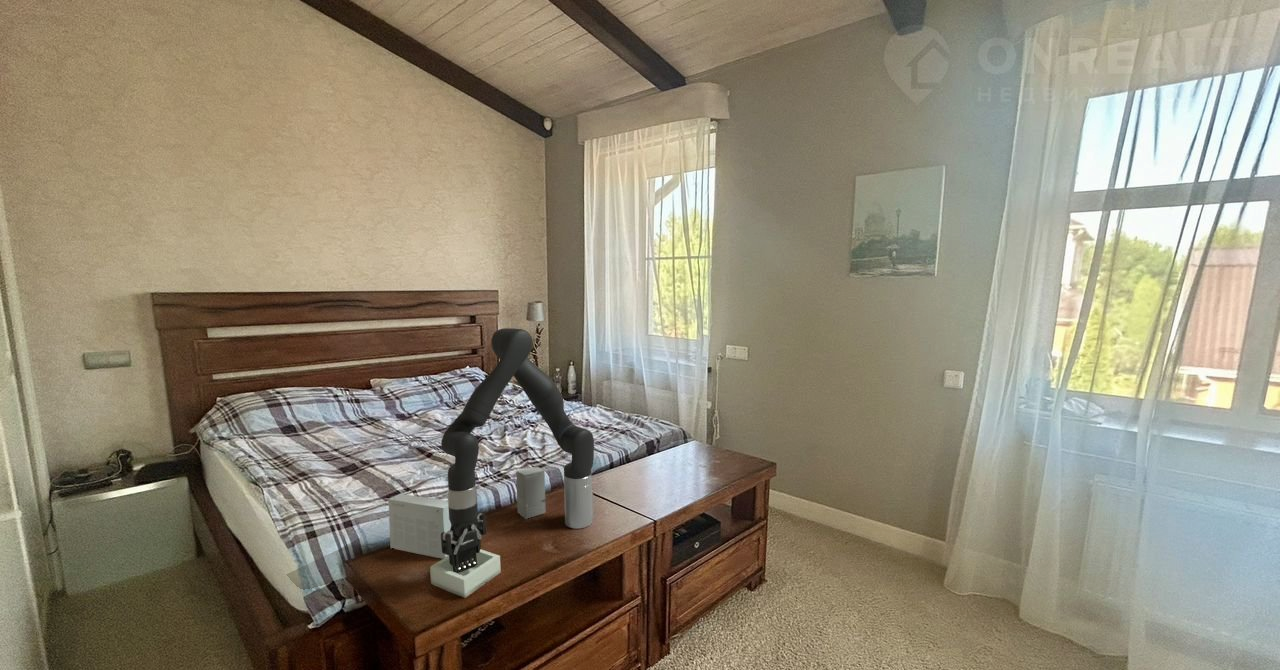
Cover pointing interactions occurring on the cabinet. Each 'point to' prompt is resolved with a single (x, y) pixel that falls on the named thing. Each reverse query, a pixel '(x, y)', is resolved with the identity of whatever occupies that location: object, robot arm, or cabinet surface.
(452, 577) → the bin
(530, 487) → the skincare box
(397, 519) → the skincare box
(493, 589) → the cabinet surface
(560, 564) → the cabinet surface
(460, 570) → the battery charger
